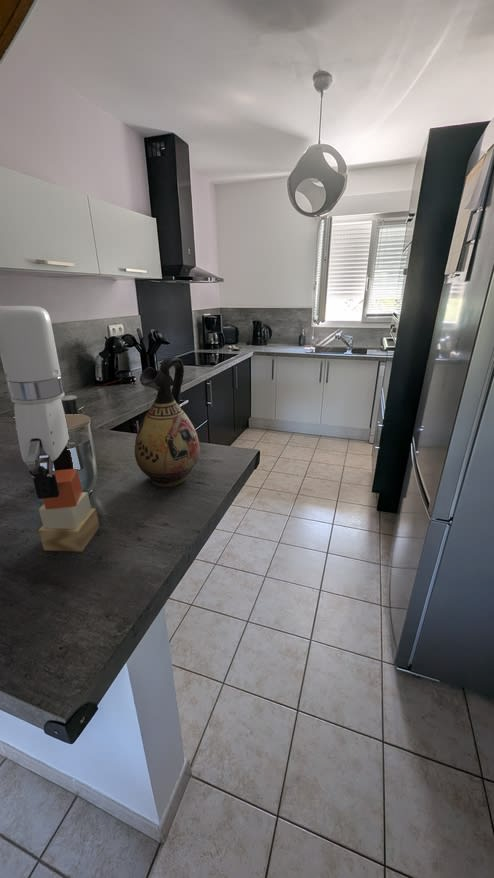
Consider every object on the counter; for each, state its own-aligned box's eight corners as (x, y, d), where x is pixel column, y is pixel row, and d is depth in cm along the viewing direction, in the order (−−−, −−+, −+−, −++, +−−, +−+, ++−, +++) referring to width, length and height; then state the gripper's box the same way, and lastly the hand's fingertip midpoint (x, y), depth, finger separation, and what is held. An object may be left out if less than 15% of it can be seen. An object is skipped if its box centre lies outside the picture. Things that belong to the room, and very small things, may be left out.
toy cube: (45, 509, 62) (39, 484, 60) (53, 494, 66) (47, 470, 64) (76, 506, 63) (70, 481, 61) (82, 491, 67) (77, 468, 65)
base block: (43, 550, 65) (38, 530, 63) (64, 526, 71) (60, 507, 70) (82, 551, 64) (77, 531, 63) (99, 527, 71) (95, 508, 69)
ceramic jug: (174, 501, 80) (161, 367, 68) (125, 484, 87) (106, 360, 75) (216, 470, 93) (212, 354, 82) (171, 457, 100) (161, 350, 89)
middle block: (43, 528, 63) (38, 509, 62) (61, 509, 69) (57, 491, 67) (76, 529, 63) (71, 510, 62) (91, 509, 69) (87, 492, 67)
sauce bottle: (71, 465, 96) (56, 394, 89) (96, 462, 98) (83, 392, 90) (68, 476, 90) (51, 401, 83) (94, 473, 92) (80, 399, 85)
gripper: (30, 377, 64) (48, 462, 70) (-15, 405, 48) (15, 512, 55) (74, 376, 65) (89, 460, 72) (45, 403, 49) (67, 507, 56)
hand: (57, 482), depth 63 cm, fingers open, 9 cm apart
